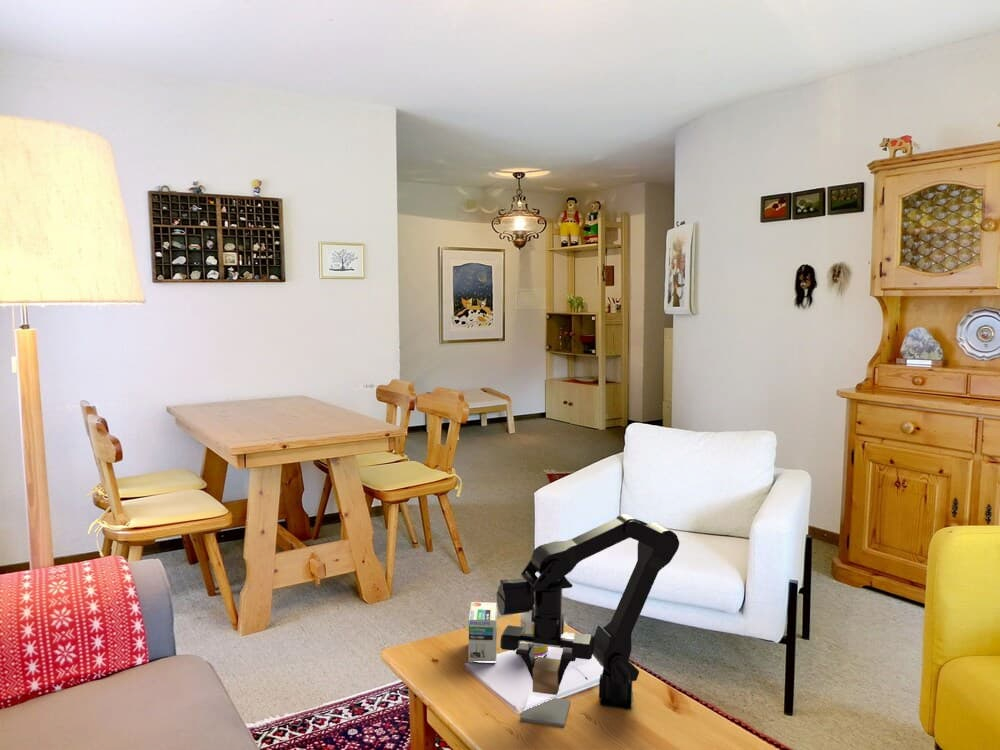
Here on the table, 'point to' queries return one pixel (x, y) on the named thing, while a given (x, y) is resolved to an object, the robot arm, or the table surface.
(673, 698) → the table surface
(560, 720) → the rubber mat
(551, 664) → the walnut cube
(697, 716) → the table surface
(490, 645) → the light bulb box
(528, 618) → the supplement bottle
